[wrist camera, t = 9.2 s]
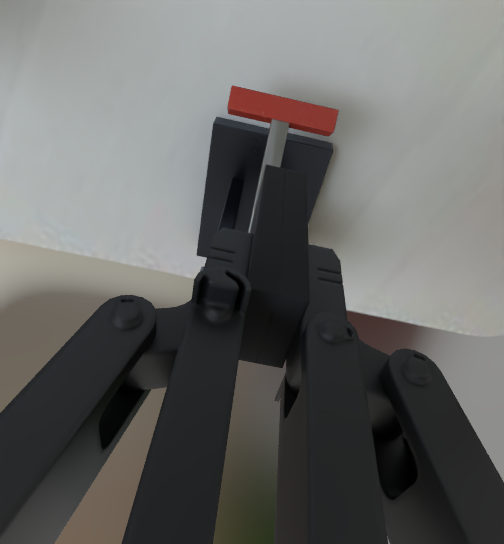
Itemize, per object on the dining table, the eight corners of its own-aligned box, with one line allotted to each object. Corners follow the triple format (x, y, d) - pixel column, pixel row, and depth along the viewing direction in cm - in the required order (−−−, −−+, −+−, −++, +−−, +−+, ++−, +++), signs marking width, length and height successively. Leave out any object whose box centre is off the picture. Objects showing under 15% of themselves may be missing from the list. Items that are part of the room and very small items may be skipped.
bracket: (216, 116, 29) (175, 203, 20) (332, 142, 30) (349, 240, 20) (199, 246, 37) (164, 354, 28) (291, 265, 38) (288, 377, 28)
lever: (232, 94, 25) (231, 82, 22) (331, 117, 25) (341, 107, 23) (193, 293, 27) (189, 301, 24) (287, 312, 27) (292, 321, 24)
